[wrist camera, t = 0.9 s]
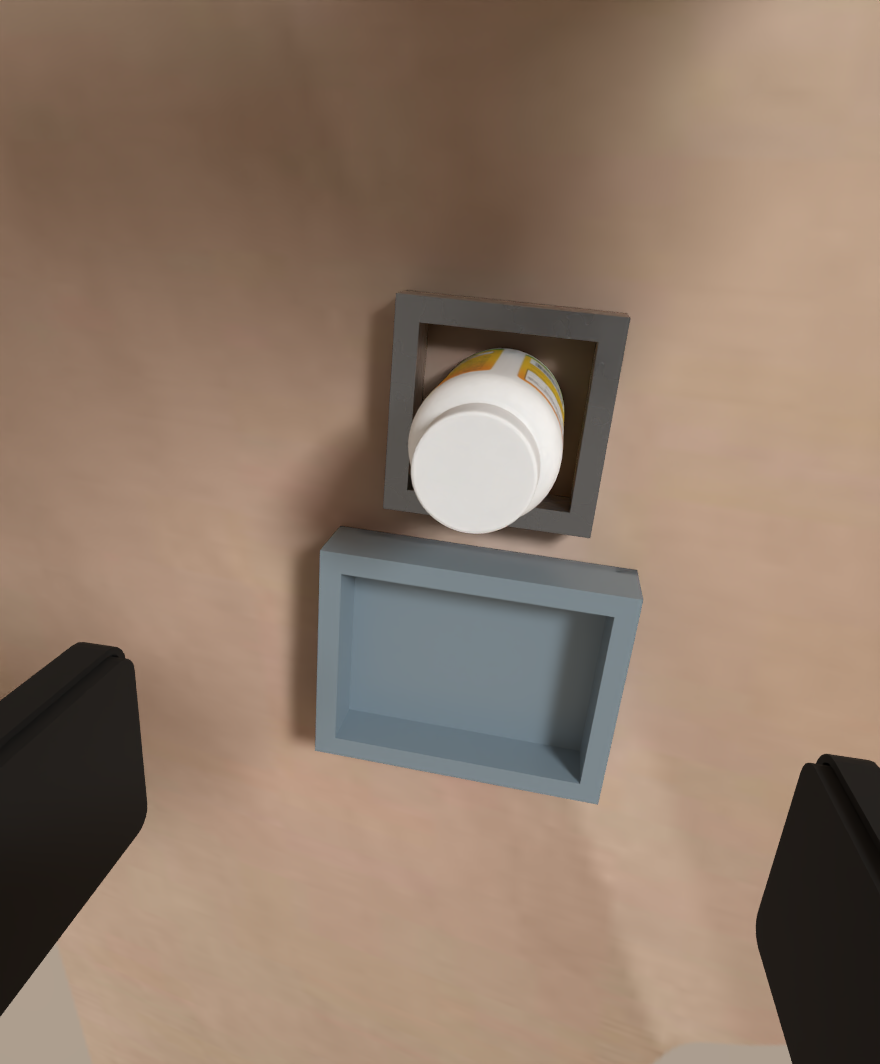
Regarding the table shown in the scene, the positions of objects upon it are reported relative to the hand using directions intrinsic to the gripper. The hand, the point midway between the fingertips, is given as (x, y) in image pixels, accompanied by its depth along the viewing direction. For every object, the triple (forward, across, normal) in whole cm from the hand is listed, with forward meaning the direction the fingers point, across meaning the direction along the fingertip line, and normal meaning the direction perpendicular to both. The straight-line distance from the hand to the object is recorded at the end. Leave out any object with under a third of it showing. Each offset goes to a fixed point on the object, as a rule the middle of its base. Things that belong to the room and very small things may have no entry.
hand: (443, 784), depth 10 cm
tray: (+23, +1, +11) cm, 25 cm away
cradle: (+23, +1, -1) cm, 23 cm away
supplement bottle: (+23, +1, -1) cm, 23 cm away
